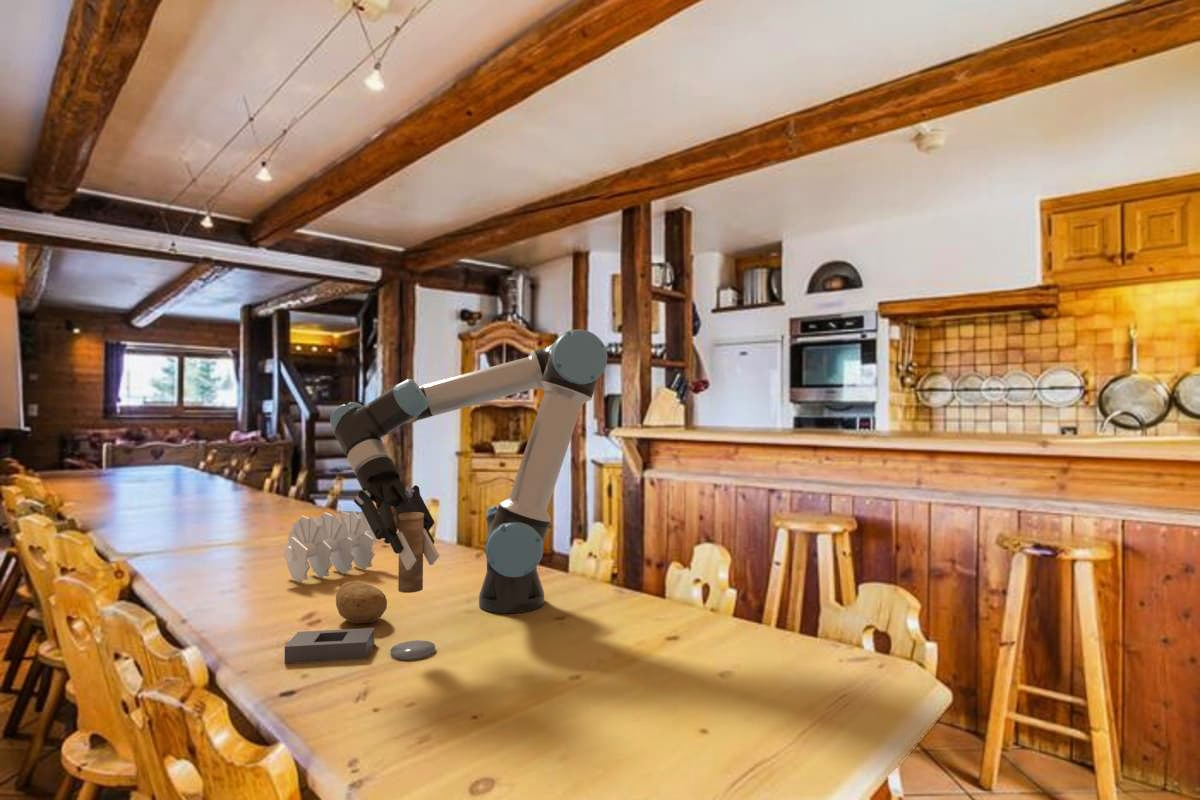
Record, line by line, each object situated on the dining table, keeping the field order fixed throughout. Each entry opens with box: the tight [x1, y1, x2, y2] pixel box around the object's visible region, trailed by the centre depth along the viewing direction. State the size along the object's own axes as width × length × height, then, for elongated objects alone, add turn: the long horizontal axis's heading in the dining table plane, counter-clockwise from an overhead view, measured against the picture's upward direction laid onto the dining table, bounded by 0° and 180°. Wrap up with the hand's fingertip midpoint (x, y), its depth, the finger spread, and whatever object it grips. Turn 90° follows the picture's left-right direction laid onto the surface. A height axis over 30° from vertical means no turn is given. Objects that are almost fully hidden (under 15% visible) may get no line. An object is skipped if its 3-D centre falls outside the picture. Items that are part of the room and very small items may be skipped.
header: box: [284, 627, 375, 664], centre depth 122 cm, size 14×8×3 cm, turn 99°
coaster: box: [390, 639, 436, 661], centre depth 122 cm, size 8×8×1 cm
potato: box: [335, 580, 388, 624], centre depth 140 cm, size 10×14×8 cm
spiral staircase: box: [283, 509, 378, 584], centre depth 180 cm, size 18×18×25 cm
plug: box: [397, 512, 424, 594], centre depth 123 cm, size 5×5×14 cm
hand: (423, 562), depth 120 cm, fingers closed on plug, 4 cm apart
